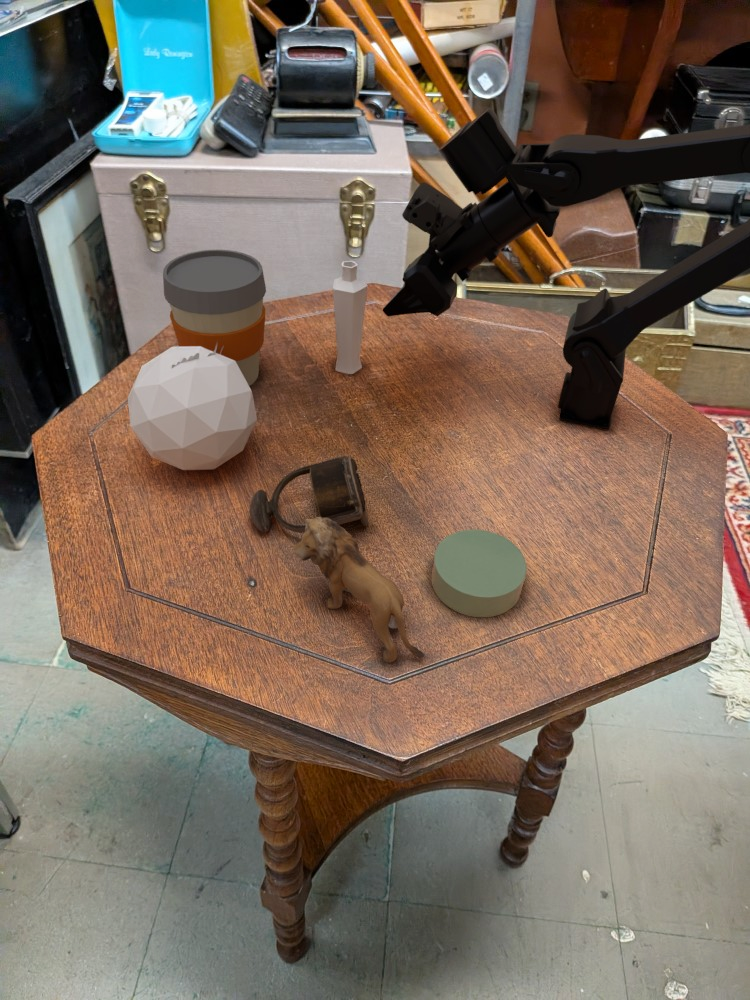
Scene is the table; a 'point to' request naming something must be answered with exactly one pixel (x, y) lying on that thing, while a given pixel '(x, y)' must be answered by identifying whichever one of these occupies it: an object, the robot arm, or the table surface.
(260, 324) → the reusable coffee cup
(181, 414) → the geodesic sphere
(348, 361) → the perfume bottle
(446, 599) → the ceramic stand
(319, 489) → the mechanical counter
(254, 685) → the table surface
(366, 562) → the lion figurine
